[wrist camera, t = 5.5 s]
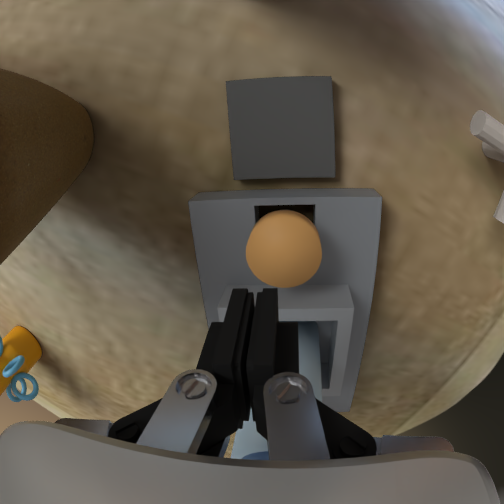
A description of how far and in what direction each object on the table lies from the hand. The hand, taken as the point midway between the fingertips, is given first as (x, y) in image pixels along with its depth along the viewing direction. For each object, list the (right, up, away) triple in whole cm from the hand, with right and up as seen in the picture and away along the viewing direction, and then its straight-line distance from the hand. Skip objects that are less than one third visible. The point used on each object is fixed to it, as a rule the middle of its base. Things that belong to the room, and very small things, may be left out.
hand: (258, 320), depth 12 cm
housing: (+3, -3, +15) cm, 15 cm away
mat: (+2, +11, +9) cm, 14 cm away
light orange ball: (+2, +4, +10) cm, 11 cm away
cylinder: (-33, -10, +24) cm, 42 cm away
